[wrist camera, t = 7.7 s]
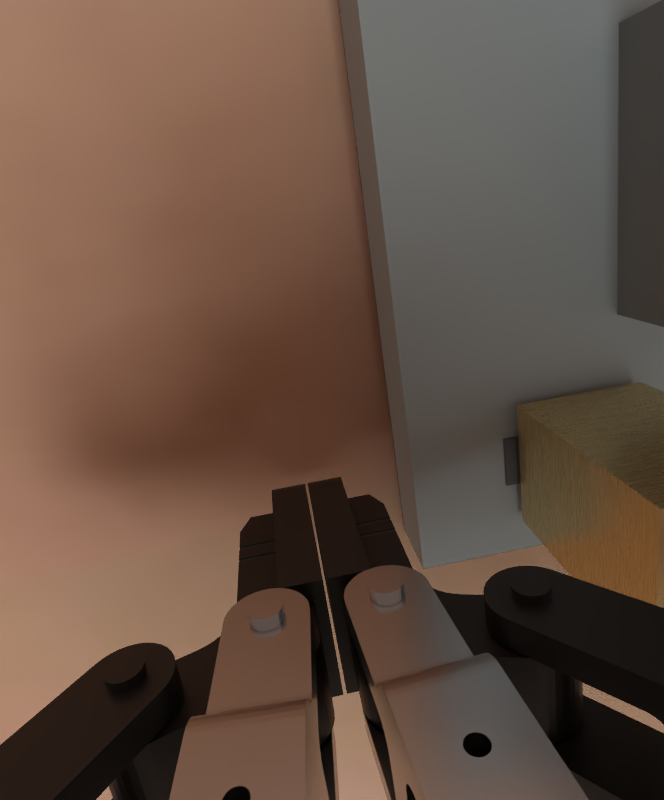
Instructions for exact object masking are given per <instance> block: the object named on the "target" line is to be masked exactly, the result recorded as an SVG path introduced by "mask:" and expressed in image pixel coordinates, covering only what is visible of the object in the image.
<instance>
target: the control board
mask: <svg viewBox="0 0 664 800" xmlns="http://www.w3.org/2000/svg"><path fill="white" fill-rule="evenodd" d="M338 2H339V10H340V18H341V26H342V34H343V42H344V50H345V58H346V66H347V74H348V82H349V90H350V98H351V106H352V114H353V122H354V130H355V138H356V146H357V154H358V162H359V170H360V178H361V186H362V194H363V202H364V209H365V217H366V225H367V233H368V241H369V249H370V257H371V265H372V273H373V281H374V289H375V297H376V305H377V313H378V321H379V329H380V337H381V345H382V353H383V361H384V369H385V377H386V385H387V393H388V401H389V409H390V417H391V425H392V433H393V441H394V449H395V457H396V465H397V473H398V481H399V489H400V497H401V505H402V513H403V521H404V529H405V531H406V533H407V535H408V537H409V539H410V541H411V543H412V546H413V548H414V550H415V552H416V554H417V556H418V558H419V560H420V562H421V565H422V567H423V569H425V568H430V567H435V566H439V565H444V564H449V563H454V562H459V561H464V560H469V559H474V558H479V557H484V556H489V555H493V554H498V553H503V552H508V551H513V550H518V549H523V548H528V547H533V546H538V545H542V544H543V543H542V542H541V541H540V540H539V539H538V538H537V537H536V535H535V534H534V533H533V532H532V531H531V530H530V529H529V527H528V526H527V525H526V524H525V523H524V522H523V521H522V501H521V482H520V463H519V444H518V425H517V406H516V405H520V404H525V403H531V402H536V401H541V400H547V399H552V398H557V397H563V396H568V395H574V394H579V393H584V392H590V391H595V390H600V389H606V388H611V387H617V386H622V385H627V384H633V383H638V382H642V383H645V384H647V385H649V386H652V387H654V388H656V389H659V390H661V391H663V392H664V0H338Z"/></svg>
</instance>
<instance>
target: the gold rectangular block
mask: <svg viewBox="0 0 664 800" xmlns="http://www.w3.org/2000/svg"><path fill="white" fill-rule="evenodd" d="M516 406H517V425H518V444H519V463H520V482H521V501H522V521H523V522H524V523H525V524H526V525H527V526H528V527H529V529H530V530H531V531H532V532H533V533H534V534H535V535H536V537H537V538H538V539H539V540H540V541H541V542H542V543H543V544H544V546H545V547H546V548H547V549H548V550H549V551H550V552H551V554H552V555H553V556H554V557H555V558H556V559H557V560H558V562H559V563H560V564H561V565H562V566H563V567H564V568H565V570H566V571H567V572H568V573H569V574H570V575H571V576H572V577H574V578H577V579H580V580H583V581H586V582H589V583H591V584H594V585H597V586H600V587H603V588H606V589H609V590H612V591H615V592H618V593H621V594H624V595H627V596H630V597H633V598H636V599H639V600H642V601H644V602H647V603H650V604H653V605H656V606H659V607H662V608H664V392H663V391H661V390H659V389H656V388H654V387H652V386H649V385H647V384H645V383H642V382H638V383H633V384H627V385H622V386H617V387H611V388H606V389H600V390H595V391H590V392H584V393H579V394H574V395H568V396H563V397H557V398H552V399H547V400H541V401H536V402H531V403H525V404H520V405H516Z"/></svg>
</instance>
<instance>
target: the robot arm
mask: <svg viewBox="0 0 664 800" xmlns="http://www.w3.org/2000/svg"><path fill="white" fill-rule="evenodd" d="M308 487H309V493H310V499H311V504H312V510H313V515H314V521H315V527H316V532H317V538H318V543H319V549H320V554H321V560H322V565H323V571H324V576H325V581H326V586H327V591H328V597H329V602H330V607H331V612H332V617H333V623H334V628H335V633H336V638H337V643H338V649H339V654H340V659H341V664H342V669H343V675H344V680H345V685H346V690H347V693H352V692H356V691H359V694H360V698H361V703H362V707H363V713H364V719H365V725H366V731H367V735H368V738H369V742H370V745H371V748H372V751H373V755H374V758H375V761H376V764H377V767H378V771H379V774H380V777H381V780H382V784H383V787H384V790H385V793H386V797H387V800H664V733H662V732H660V731H657V730H655V729H653V728H651V727H649V726H647V725H645V724H643V723H641V722H639V721H636V720H634V719H632V718H630V717H628V716H626V715H624V714H622V713H620V712H618V711H615V710H613V709H611V708H609V707H607V706H605V705H603V704H601V703H599V702H597V701H594V700H592V699H590V698H588V697H586V696H584V695H583V690H582V682H583V683H585V684H587V685H589V686H592V687H594V688H596V689H598V690H600V691H602V692H605V693H607V694H609V695H611V696H613V697H616V698H618V699H620V700H622V701H624V702H626V703H629V704H631V705H633V706H635V707H637V708H639V709H642V710H644V711H646V712H648V713H650V714H651V715H653V716H654V717H656V718H657V719H658V720H660V721H661V722H662V723H663V724H664V608H662V607H659V606H656V605H653V604H650V603H647V602H644V601H642V600H639V599H636V598H633V597H630V596H627V595H624V594H621V593H618V592H615V591H612V590H609V589H606V588H603V587H600V586H597V585H594V584H591V583H589V582H586V581H583V580H580V579H577V578H574V577H571V576H568V575H565V574H562V573H559V572H556V571H553V570H550V569H546V568H542V567H535V566H518V567H512V568H508V569H505V570H502V571H500V572H498V573H496V574H494V575H493V576H492V577H491V578H490V579H489V580H488V581H487V582H486V585H485V587H484V595H462V594H451V593H445V592H442V591H438V590H436V589H433V588H432V587H431V585H430V584H429V582H428V580H427V579H426V578H425V577H424V576H423V575H422V574H421V573H420V572H418V571H416V570H414V569H413V568H412V566H411V564H410V562H409V559H408V557H407V555H406V553H405V550H404V548H403V546H402V544H401V542H400V539H399V537H398V535H397V533H396V531H395V528H394V526H393V524H392V521H391V520H390V517H389V515H388V512H387V510H386V508H385V506H384V504H383V503H382V502H380V501H378V500H377V499H375V498H374V497H372V496H371V495H369V494H368V495H363V496H358V497H353V498H347V495H346V492H345V489H344V486H343V482H342V479H341V477H338V478H332V479H327V480H322V481H317V482H312V483H308ZM272 503H273V513H271V514H266V515H261V516H256V517H251V518H250V519H249V521H248V522H247V524H246V525H245V526H244V528H243V529H242V531H241V532H240V551H239V561H240V562H239V572H238V593H237V603H236V604H235V605H234V606H233V607H232V608H231V609H230V610H229V611H228V613H227V614H226V616H225V619H224V622H223V626H222V632H221V636H220V637H219V638H217V639H216V640H215V641H213V642H212V643H210V644H209V645H207V646H205V647H203V648H201V649H199V650H197V651H195V652H193V653H191V654H188V655H186V656H184V657H182V658H180V659H177V660H175V657H174V655H173V653H172V651H171V650H169V649H168V648H167V647H165V646H163V645H161V644H157V643H140V644H134V645H131V646H127V647H125V648H122V649H119V650H117V651H115V652H113V653H111V654H110V655H108V656H106V657H105V658H103V659H102V660H101V661H99V662H98V663H97V664H95V665H94V666H93V667H92V668H91V669H89V670H88V671H87V672H86V673H85V674H84V675H82V676H81V677H80V678H79V679H78V680H77V681H75V682H74V683H73V684H72V685H71V686H69V687H68V688H67V689H66V690H65V691H64V692H62V693H61V694H60V695H59V696H58V697H56V698H55V699H54V700H53V701H52V702H51V703H49V704H48V705H47V706H46V707H45V708H43V709H42V710H41V711H40V712H39V713H38V714H36V715H35V716H34V717H33V718H32V719H31V720H29V721H28V722H27V723H26V724H25V725H23V726H22V727H21V728H20V729H19V730H18V731H16V732H15V733H14V734H13V735H12V736H10V737H9V738H8V739H7V740H6V741H5V742H3V743H2V744H1V745H0V800H96V799H97V798H98V797H99V796H100V795H101V794H102V792H103V791H104V790H105V789H106V788H107V787H108V786H109V788H110V791H111V793H112V796H113V798H112V800H339V788H338V773H337V757H336V742H335V736H334V731H333V725H334V719H335V717H334V708H333V701H332V697H335V696H339V695H343V690H342V685H341V679H340V673H339V668H338V662H337V657H336V651H335V646H334V640H333V635H332V629H331V624H330V618H329V613H328V607H327V602H326V596H325V590H324V585H323V579H322V574H321V569H320V563H319V558H318V552H317V547H316V542H315V536H314V531H313V525H312V520H311V514H310V509H309V504H308V498H307V493H306V487H305V484H302V485H296V486H291V487H286V488H281V489H276V490H272Z"/></svg>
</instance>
